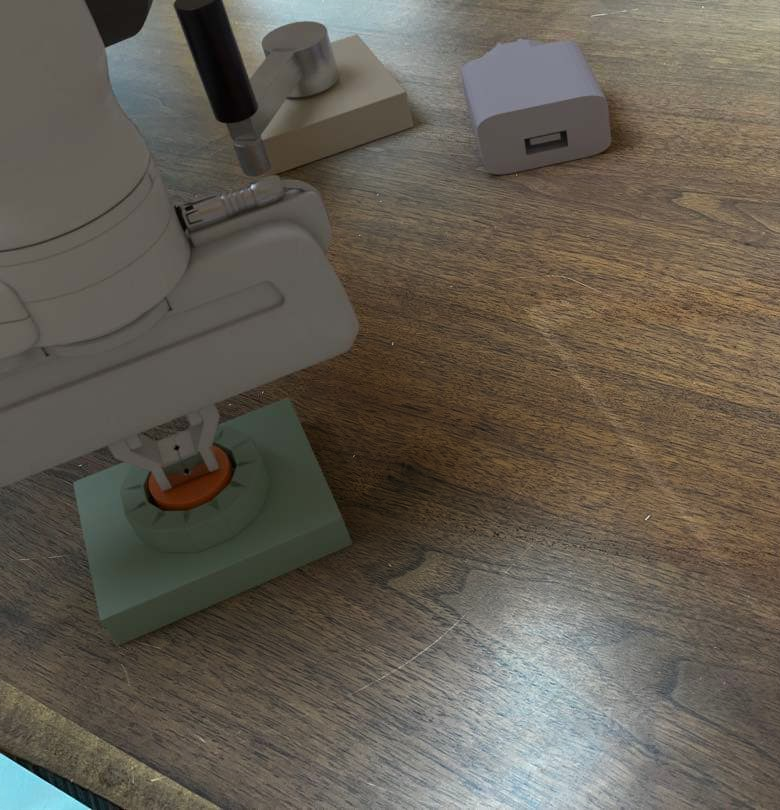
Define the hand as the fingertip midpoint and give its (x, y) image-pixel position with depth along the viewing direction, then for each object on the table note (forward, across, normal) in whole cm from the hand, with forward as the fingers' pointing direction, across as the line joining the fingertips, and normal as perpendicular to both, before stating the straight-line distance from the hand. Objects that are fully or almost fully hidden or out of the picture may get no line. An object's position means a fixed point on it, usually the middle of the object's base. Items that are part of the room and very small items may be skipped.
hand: (189, 472), depth 54 cm
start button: (+2, 0, 0) cm, 2 cm away
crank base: (+4, -17, -38) cm, 42 cm away
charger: (+4, -31, -28) cm, 42 cm away
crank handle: (+2, -14, -34) cm, 37 cm away
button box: (+4, 0, 0) cm, 4 cm away
